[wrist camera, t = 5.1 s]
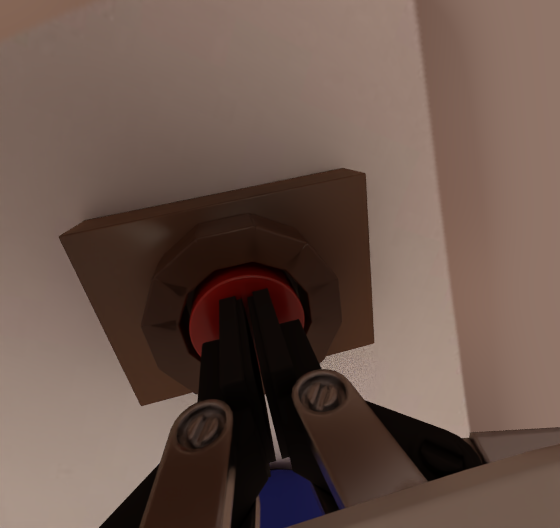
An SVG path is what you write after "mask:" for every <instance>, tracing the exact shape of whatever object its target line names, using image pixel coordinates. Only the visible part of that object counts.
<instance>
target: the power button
mask: <svg viewBox="0 0 560 528" xmlns="http://www.w3.org/2000/svg"><path fill="white" fill-rule="evenodd" d="M266 288H268V291H269V294H270V297H271V300H272V303H273V306H274V309H275V312H276V315H277V318H278V321H279V324H280V323H284V322H288V321H292V320H296V319H299V320H300V322H301V324H302V327H303V329H304V322H305V317H304V310H303V306H302V304H301V301H300V299H299V298H298V296H297V294H296V292H295V290H294V288H293V286H292V284H291V282H290V280H289V279H288V277H287V276H286V274H285V273H284V272H283V271H282V270H281V269H278V268H274V267H270V266H267V265H263V264H259V263H256V262H249V263H245V264H240V265H236V266H232V267H227V268H223V269H219V270H215V271H214V272H213V273H211V274H210V275H209V276H208V277H207V278H206V279H205V280H203V281H202V282H201V283H200V284H199V285H198V286H197V287H196V289H195V292H194V296H193V301H192V307H191V314H190V321H189V335H190V339H191V342H192V344H193V347H194V348H195V350H196V352H197V353H198V354H199V356H200V357H201V352H202V344H203V343H205V342H209V341H213V340H217V339H219V300H220V299H224V298H228V297H233V296H235V297H236V300H238V299H242V300H243V304H244V308H245V312H246V316H247V320H248V324H249V328H250V332H251V336H252V340H253V344H254V348H255V352H256V356H257V360H258V355H257V350H256V344H255V339H254V334H253V328H252V323H251V317H250V312H249V306H248V301H247V297H251V296H253V293H252V292H254V291H258V290H262V289H266ZM258 364H259V361H258ZM259 369H260V366H259Z"/></svg>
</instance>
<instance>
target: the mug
mask: <svg viewBox="0 0 560 528" xmlns="http://www.w3.org/2000/svg"><path fill="white" fill-rule="evenodd" d="M270 473H271V477H268V481H267V482H266V484H265V485H264V487H263V489H262V490H261V492H260V493H259V497H260V528H286V527H289V526H292V525H295V524H298V523H301V522H304V521H307V520H310V519H314V518H317V517H320V516H322V513H321V511H320V508H319V506H318V504H317V501H316V499H315V497H314V494H313V492H312V490H311V486H310V482H309V480H307V479H305V478H304V477H302V476H300V475H298V474H297V473H295V472H293V470H286V469H279V470H270Z"/></svg>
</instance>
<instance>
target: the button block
mask: <svg viewBox="0 0 560 528" xmlns="http://www.w3.org/2000/svg"><path fill="white" fill-rule="evenodd" d="M59 239H60V241H61V243H62V245H63V247H64V249H65V251H66V253H67V255H68V257H69V259H70V261H71V263H72V266H73V268H74V270H75V272H76V274H77V276H78V278H79V280H80V282H81V284H82V286H83V288H84V290H85V292H86V294H87V296H88V298H89V300H90V302H91V305H92V307H93V309H94V311H95V313H96V315H97V317H98V319H99V321H100V323H101V325H102V327H103V329H104V331H105V333H106V335H107V337H108V339H109V342H110V344H111V346H112V348H113V350H114V352H115V354H116V356H117V358H118V360H119V362H120V364H121V366H122V368H123V370H124V372H125V374H126V376H127V378H128V381H129V383H130V385H131V387H132V389H133V391H134V393H135V395H136V397H137V399H138V401H139V403H140V405H141V406H144V405H147V404H151V403H155V402H159V401H162V400H166V399H170V398H173V397H177V396H181V395H184V394H188V393H192V392H193V393H195V394H198V390H199V377H200V365H201V357H200V356H199V354H198V353H197V352H196V350H195V348H194V347H193V344H192V342H191V339H190V335H189V321H190V314H191V307H192V301H193V296H194V292H195V289H196V287H197V286H198V285H199V284H200V283H201V282H202V281H203V280H205V279H206V278H207V277H208V276H209V275H210V274H211V273H213V272H214V271H215V270H219V269H223V268H227V267H232V266H236V265H240V264H245V263H249V262H256V263H259V264H263V265H267V266H270V267H274V268H278V269H281V270H282V271H283V272H284V273H285V274H286V276H287V277H288V279H289V280H290V282H291V284H292V286H293V288H294V290H295V292H296V294H297V296H298V298H299V299H300V301H301V304H302V306H303V310H304V317H305V322H304V331H305V333H306V336H307V338H308V340H309V342H310V344H311V347H312V349H313V351H314V353H315V356H316V358H317V360H318V362H319V363H321V362H322V361H323V360H324V359H325V357H326V356H329V355H332V354H336V353H340V352H344V351H347V350H351V349H355V348H358V347H362V346H366V345H369V344H373V343H374V327H373V308H372V288H371V269H370V249H369V230H368V210H367V191H366V174H365V173H362V172H358V171H354V170H349V169H345V168H341V169H336V170H331V171H326V172H321V173H316V174H311V175H306V176H301V177H297V178H292V179H287V180H282V181H277V182H272V183H267V184H262V185H257V186H252V187H247V188H242V189H237V190H232V191H227V192H222V193H218V194H213V195H208V196H203V197H198V198H193V199H188V200H183V201H178V202H173V203H168V204H163V205H158V206H153V207H148V208H143V209H139V210H134V211H129V212H124V213H119V214H114V215H109V216H104V217H99V218H94V219H89V220H84V221H83V222H81V223H80V224H78V225H76V226H75V227H73V228H71V229H70V230H68V231H67V232H65V233H63V234H62V235H60V236H59ZM260 374H261V371H260ZM261 380H262V376H261ZM262 385H263V381H262ZM263 391H264V395H265V394H266V393H265V389H264V385H263Z"/></svg>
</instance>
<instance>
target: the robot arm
mask: <svg viewBox="0 0 560 528" xmlns="http://www.w3.org/2000/svg"><path fill="white" fill-rule="evenodd" d="M252 293H253V296H251V297H247V301H248V306H249V312H250V317H251V323H252V328H253V334H254V339H255V344H256V350H257V355H258V360H257V356H256V352H255V348H254V344H253V340H252V336H251V332H250V328H249V324H248V320H247V316H246V312H245V308H244V304H243V300H242V299H238V300H236V297H235V296H233V297H228V298H224V299H220V300H219V339H217V340H213V341H209V342H205V343H203V344H202V352H201V365H200V377H199V390H198V402H197V403H195V404H193V405H192V406H190V407H188V408H187V409H186V410H185V411H183V412H182V413H181V414H180V415H179V417H178V418H177V419H176V420H175V422H174V424H173V426H172V428H171V430H170V433H169V437H168V440H167V443H166V446H165V449H164V452H163V455H162V458H161V461H160V463H159V465H158V466H157V467H156V468H155V469H154V470H153V471H152V472H151V473H150V474H149V475H148V476H147V477H146V478H145V479H144V480H143V481H142V483H141V484H140V485H139V486H138V487H137V488H136V489H135V490H134V491H133V492H132V493H131V494H130V495H129V496H128V497H127V498H126V500H125V501H124V502H123V503H122V504H121V505H120V506H119V507H118V508H117V509H116V510H115V511H114V512H113V513H112V514H111V515H110V516H109V518H108V519H107V520H106V521H105V522H104V523H103V524H102V525H101V526H100V527H99V528H260V497H259V493H260V492H261V490H262V489H263V487H264V485H265V484H266V482H267V481H268V477H271V473H270V467H269V463H270V462H274V461H276V457H275V452H274V446H273V441H272V435H271V429H270V424H269V418H268V413H267V407H266V402H265V396H264V391H263V385H264V389H265V393H266V397H267V401H268V405H269V409H270V413H271V417H272V421H273V425H274V429H275V433H276V437H277V441H278V444H279V448H280V452H281V456H282V459H284V458H287V457H290V460H291V464H292V469H293V472H295V473H297V474H298V475H300V476H302V477H304V478H305V479H307V480H309V482H310V486H311V490H312V492H313V494H314V497H315V499H316V501H317V504H318V506H319V508H320V511H321V513H322V516H320V517H317V518H314V519H310V520H307V521H304V522H301V523H298V524H295V525H292V526H289V527H286V528H560V428H558V427H556V428H540V429H524V430H523V429H522V430H505V431H489V432H472V433H470V436H469V438H460V437H459V436H457V435H455V434H453V433H451V432H449V431H447V430H444V429H442V428H439V427H436V426H433V425H431V424H428V423H425V422H422V421H420V420H417V419H414V418H412V417H409V416H406V415H403V414H401V413H398V412H395V411H393V410H390V409H387V408H384V407H382V406H379V405H376V404H373V403H371V402H368V401H365V400H364V399H363V398H362V397H361V395H360V394H359V393H358V391H357V390H356V389H355V388H354V386H353V385H352V384H351V383H350V381H349V380H348V379H347V378H346V377H345V376H344V375H342V374H340V373H338V372H336V371H333V370H328V369H321V367H320V364H319V362H318V360H317V358H316V356H315V353H314V351H313V349H312V347H311V344H310V342H309V340H308V338H307V336H306V333H305V331H304V329H303V327H302V324H301V322H300V320H299V319H296V320H292V321H288V322H284V323H280V324H279V321H278V318H277V315H276V312H275V309H274V306H273V303H272V300H271V297H270V294H269V291H268V288H266V289H262V290H258V291H254V292H252ZM258 361H259V364H258ZM259 366H260V369H259ZM260 371H261V374H260ZM261 376H262V380H261ZM262 381H263V385H262Z"/></svg>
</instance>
